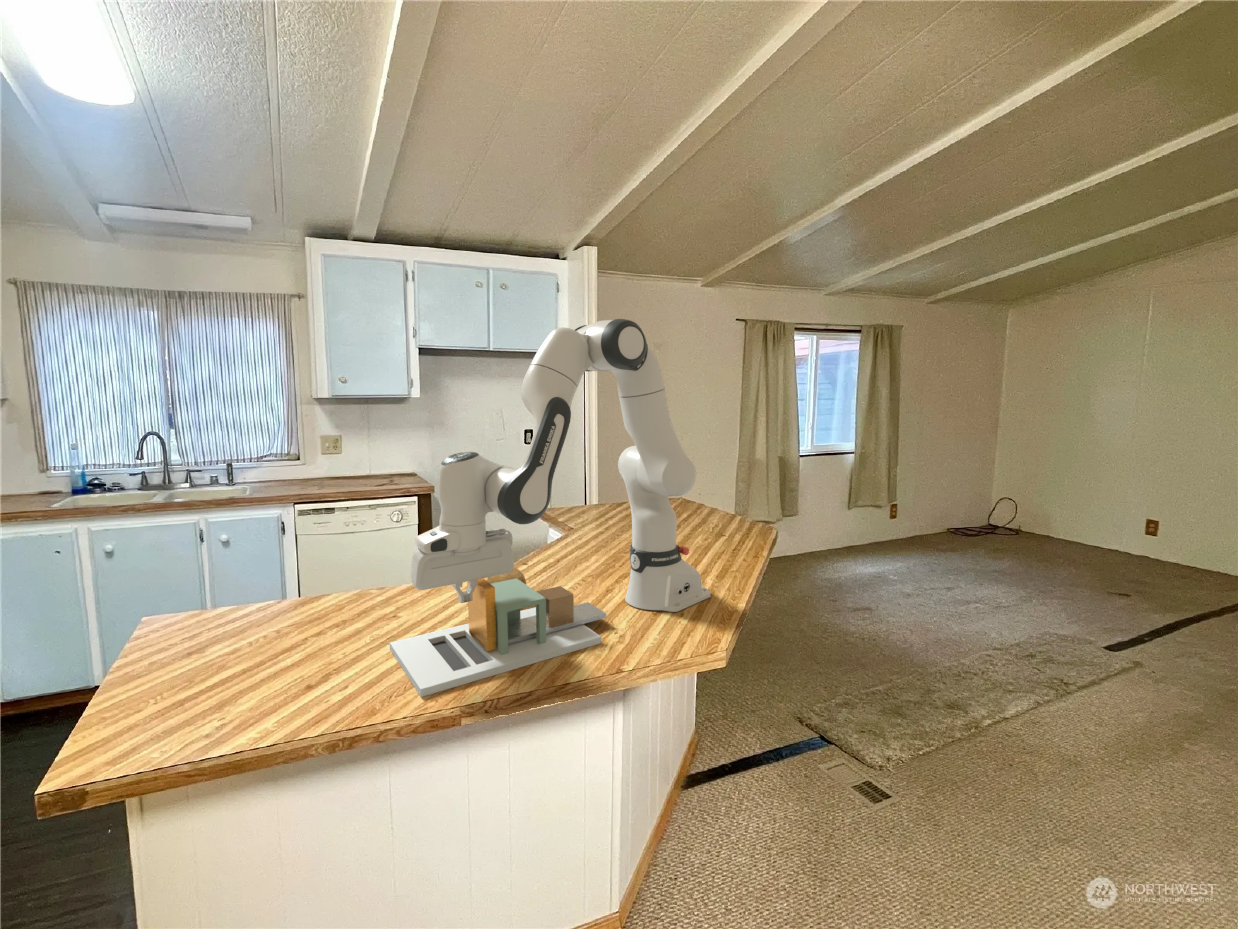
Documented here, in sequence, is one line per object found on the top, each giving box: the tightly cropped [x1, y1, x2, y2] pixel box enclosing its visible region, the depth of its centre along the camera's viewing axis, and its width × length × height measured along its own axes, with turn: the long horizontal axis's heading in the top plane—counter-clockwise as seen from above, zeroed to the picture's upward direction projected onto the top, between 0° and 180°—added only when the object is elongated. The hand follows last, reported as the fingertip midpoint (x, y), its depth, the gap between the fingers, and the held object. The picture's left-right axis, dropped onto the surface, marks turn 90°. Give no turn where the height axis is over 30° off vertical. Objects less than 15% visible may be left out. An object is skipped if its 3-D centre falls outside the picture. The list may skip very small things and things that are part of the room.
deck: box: [389, 606, 602, 698], centre depth 125 cm, size 38×22×2 cm, turn 124°
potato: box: [486, 566, 527, 585], centre depth 151 cm, size 10×14×8 cm
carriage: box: [466, 578, 607, 652], centre depth 129 cm, size 29×10×13 cm, turn 124°
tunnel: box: [491, 578, 546, 655], centre depth 125 cm, size 10×14×10 cm
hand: (465, 601), depth 119 cm, fingers closed
